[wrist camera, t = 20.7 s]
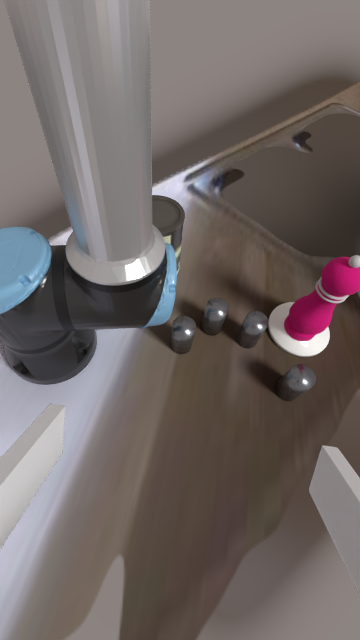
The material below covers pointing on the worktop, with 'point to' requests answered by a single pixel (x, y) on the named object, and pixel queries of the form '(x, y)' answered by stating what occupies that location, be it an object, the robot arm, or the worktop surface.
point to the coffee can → (169, 222)
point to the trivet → (288, 342)
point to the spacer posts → (240, 343)
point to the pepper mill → (323, 298)
